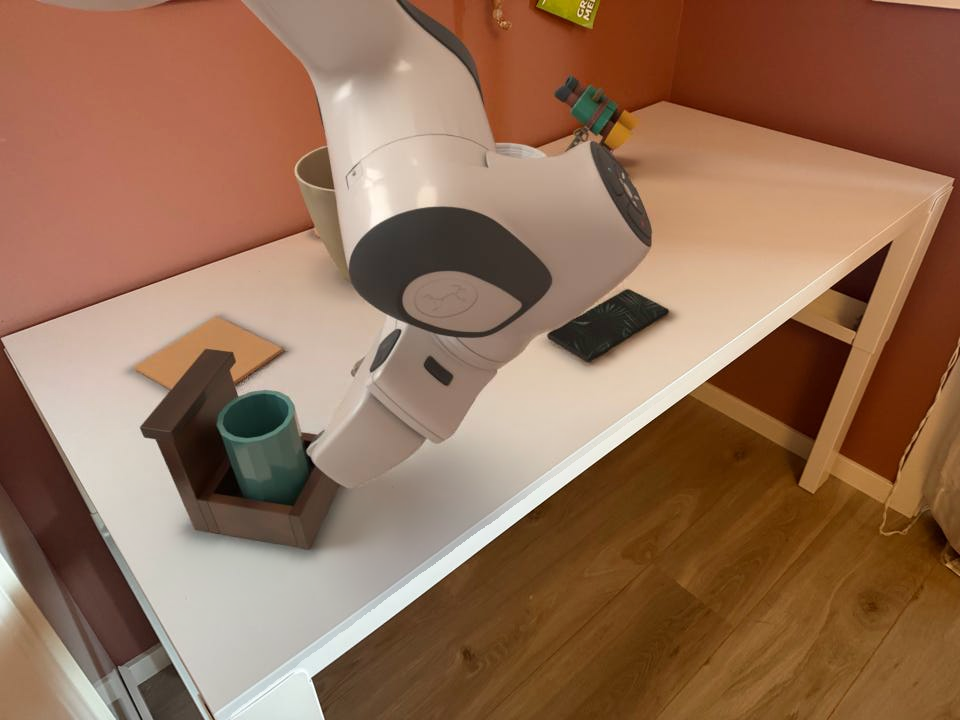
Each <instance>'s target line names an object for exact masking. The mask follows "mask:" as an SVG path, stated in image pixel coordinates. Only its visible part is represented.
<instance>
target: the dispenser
mask: <svg viewBox="0 0 960 720" xmlns="http://www.w3.org/2000/svg"><path fill="white" fill-rule="evenodd" d="M235 363H236V360H235V356H234V353H233V352H229V351H221V350H213V349H205V350H204V351H203V352H202V353H201V354H200V356H199V357H198V358H197V359H196V360H195V362H194V363H193V364H192V365H191V366H190V368H189V369H188V370H187V371H186V372H185V374H184V375H183V376H182V377H181V378H180V380H179V381H178V382H177V383H176V384H175V386H174V387H173V388H172V389H171V390H169V391H168V393H167V394H165V396H164V397H163V399H162V400H161V401H160V402H159V403H158V405H156V407H155V408H154V409H153V411H152V412H151V413H150V414H149V415H148V417H147V418H145V420H144V421H143V422H142V423H141V425H140V426H139V429H140V432H141V434H142V436H143V438H145V439H151V440H155V442H156V444H157V446H158V449H159V451H160V453H161V455H162V458H163V460H164V462H165V465H166V467H167V469H168V472H169V474H170V477H171V479H172V481H173V483H174V485H175V487H176V491H177V492H178V495H179V497H180V499H181V501H182V504H183V506H184V508H185V511H186V513H187V515H188V517H189V520H190V522H191V524H192V527H193V529H194V530H196V531H203V532H207V533H209V532H210V533H213V534H217V535H225V536H231V537H237V538H242V539H249V540H253V541H254V540H255V541H260V542H265V543H271V544H277V545H282V546H288V547H293V548H300V549H305V550H309V549H310V548H311V546H312V544H313V542H314V539H315V537H316V535H317V533H318V532H319V529H320V527H321V525H322V523H323V521H324V519H325V517H326V515H327V512H328V511H329V509H330V506H331V504H332V502H333V500H334V498H335V497H336V494H337V492H338V491H339V488H340V486H341V485H340V484H339V483H337V482H336V481H334V480H333V479H331V478H330V477H328V476H327V475H326V474H325V473H324V472H322V471H321V470H320V469H319V468H318V467H317V466H316V465H315V464H314V463H313V461H312V459H311V457H310V456H309V455H308V454H307V457H308V461H309V465H310V469H311V475H310V477H309V478H308V480H307V482H306V484H305V486H304V488H303V490H302V492H301V493H300V495H299V497H298V499H297V501H296V503H295V505H294V507H293V506H288V505H282V504H276V503H270V502H263V501H257V500H251V499H245V498H242V496H241V493H240V490H239V488H238V485H237V482H236V479H235V476H234V474H233V471H232V468H231V465H230V462H229V459H228V457H227V454H226V451H225V448H224V445H223V442H222V440H221V437H220V434H219V431H218V428H217V419H218V415H219V413H220V412H221V411H222V409H223V408H224V407H225V405H226V404H228V403H229V402H231V401H232V400H234V399H235V398H236V397H238V396H239V394H238V391H237V387H236V384H234V381H233V378H232V375H231V372H230V369H231V368H232V367H233V365H234V364H235ZM301 433H302V437H303V441H304V445H305V449H306V453H307V449H308V447H309V445H310V444H311V442H312V440H313V439H314V437H315V436H316V435H318V434H319V433H318V434H317V433H310V432H303V431H301Z"/></svg>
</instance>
